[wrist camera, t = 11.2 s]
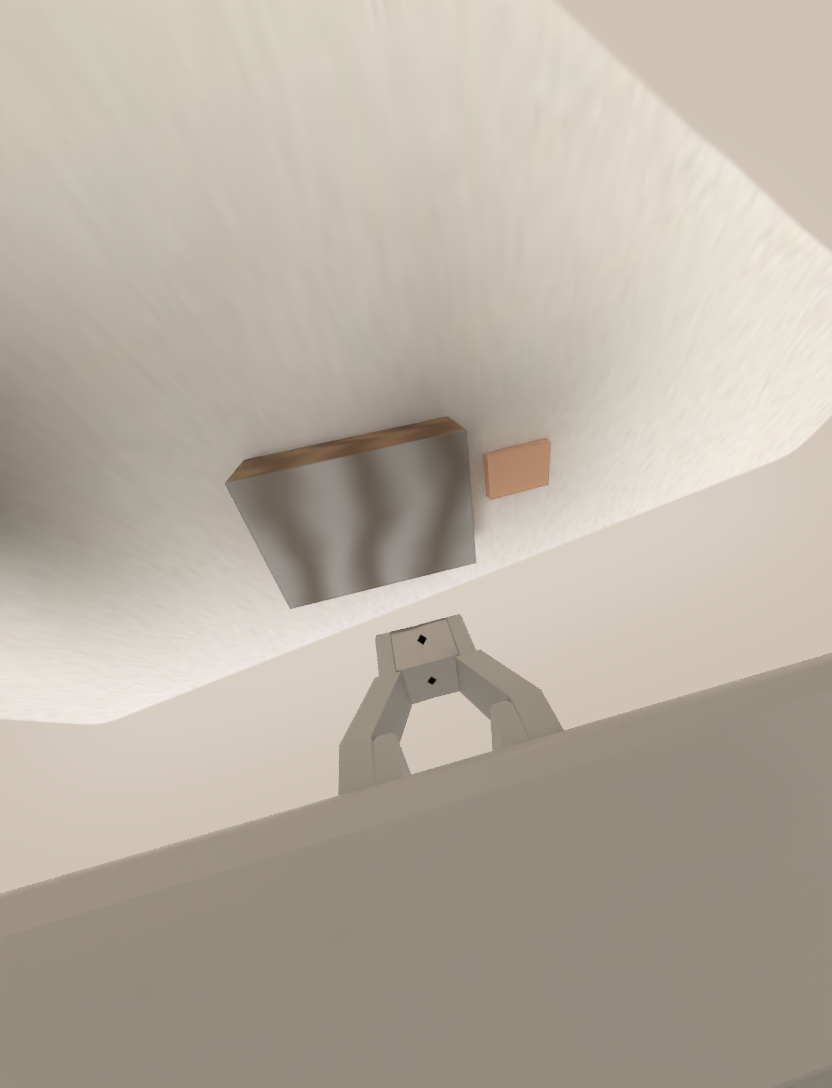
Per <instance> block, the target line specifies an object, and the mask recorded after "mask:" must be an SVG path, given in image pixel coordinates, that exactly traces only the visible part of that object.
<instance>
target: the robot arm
mask: <svg viewBox="0 0 832 1088" xmlns="http://www.w3.org/2000/svg"><path fill="white" fill-rule="evenodd" d="M376 650H377V660H378V669H379V677H376V678H375V679H374V681H373V683H372V684H371V686H370V688H369V690H368V692H367V694H366V696H365V698H364V700H363V702H362V703H361V706H360V707H359V709H358V711H357V713H356V715H355V717H354V719H353V721H352V723H351V724H350V727H349V728H348V730H347V732H346V734H345V736H344V738H343V740H342V741H341V743H340V746H339V796H336V797H333V798H329V799H326V800H322V801H319V802H315V803H312V804H309V805H305V806H302V807H298V808H295V809H292V810H288V811H284V812H281V813H277V814H274V815H271V816H267V817H264V818H260V819H257V820H253V821H250V822H246V823H243V824H240V825H236V826H233V827H229V828H226V829H223V830H219V831H215V832H212V833H208V834H205V835H201V836H198V837H195V838H191V839H188V840H184V841H181V842H177V843H174V844H170V845H167V846H164V847H160V848H157V849H154V850H150V851H146V852H143V853H140V854H136V855H133V856H129V857H126V858H122V859H119V860H115V861H112V862H108V863H105V864H101V865H98V866H94V867H91V868H87V869H84V870H80V871H77V872H73V873H70V874H66V875H63V876H60V877H56V878H53V879H49V880H46V881H43V882H39V883H35V884H32V885H28V886H25V887H22V888H18V889H14V890H11V891H7V892H4V893H0V1088H832V653H830V654H826V655H823V656H820V657H816V658H813V659H809V660H806V661H802V662H799V663H795V664H792V665H789V666H785V667H782V668H778V669H775V670H771V671H768V672H764V673H761V674H758V675H754V676H751V677H747V678H744V679H740V680H737V681H734V682H730V683H726V684H723V685H719V686H716V687H713V688H710V689H706V690H702V691H699V692H695V693H692V694H689V695H685V696H682V697H678V698H675V699H671V700H668V701H665V702H661V703H657V704H654V705H651V706H647V707H644V708H640V709H637V710H633V711H630V712H626V713H623V714H619V715H617V716H613V717H609V718H606V719H602V720H599V721H595V722H592V723H588V724H585V725H582V726H578V727H575V728H571V729H568V730H563V728H562V726H561V725H560V723H559V721H558V719H557V718H556V716H555V714H554V712H553V710H552V709H551V707H550V705H549V703H548V701H547V700H546V698H545V696H544V694H543V693H542V691H541V689H539V688H537V687H536V686H534V685H533V684H531V683H530V682H528V681H527V680H525V679H524V678H522V677H521V676H519V675H518V674H516V673H515V672H513V671H512V670H510V669H508V668H507V667H505V666H504V665H502V664H501V663H500V662H498V661H497V660H495V659H494V658H492V657H491V656H489V655H487V654H486V653H484V652H483V651H482V650H478V651H476V649H475V647H474V645H473V642H472V640H471V638H470V635H469V633H468V631H467V628H466V626H465V623H464V621H463V619H462V617H461V615H460V614H458V615H454V616H450V617H447V618H442V619H439V620H435V621H431V622H428V623H424V624H420V625H418V626H414V627H409V628H405V629H401V630H396V631H392V632H389V633H385V634H380V635H376ZM458 691H460V692H461V693H462V694H463V695H464V696H465V697H466V698H467V699H469V701H471V702H472V703H473V704H474V705H475V706H476V707H477V708H478V709H479V710H480V711H481V712H482V713H483V714H484V715H486V716H487V717H488V718H489V719H490V720H491V731H492V747H493V751H492V752H488V753H485V754H481V755H478V756H474V757H471V758H467V759H464V760H460V761H457V762H453V763H450V764H447V765H443V766H440V767H436V768H433V769H429V770H426V771H422V772H419V773H415V774H413V775H411V773H410V770H409V768H408V765H407V762H406V760H405V757H404V755H403V752H402V749H401V747H400V744H399V743H400V740H401V737H402V734H403V731H404V728H405V725H406V722H407V719H408V716H409V712H410V709H411V707H412V706H411V704H414V703H418V702H420V701H424V700H427V699H430V698H434V697H438V696H442V695H445V694H450V693H454V692H458Z"/></svg>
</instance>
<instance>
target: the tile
mask: <svg viewBox="0 0 832 1088" xmlns="http://www.w3.org/2000/svg"><path fill="white" fill-rule="evenodd" d="M483 456H484V470H485V484H486V496H487V497H488V498H489V499H490V500H491V499H495V498H498V497H502V496H506V495H510V494H514V493H518V492H522V491H525V490H529V489H533V488H537V487H541V486H545V485H548V481H549V459H550V441H549V440H547V439H542V440H538V441H534V442H530V443H526V444H522V445H517V446H513V447H509V448H505V449H501V450H497V451H493V452H489V453H485V454H483Z"/></svg>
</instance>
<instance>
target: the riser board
mask: <svg viewBox="0 0 832 1088" xmlns="http://www.w3.org/2000/svg"><path fill="white" fill-rule="evenodd" d="M225 485H226V487H227V489H228V491H229V493H230V495H231V496H232V498H233V500H234V502H235V504H236V506H237V508H238V510H239V512H240V514H241V516H242V518H243V519H244V521H245V523H246V525H247V527H248V529H249V531H250V533H251V535H252V537H253V539H254V541H255V542H256V544H257V546H258V548H259V550H260V552H261V554H262V556H263V558H264V560H265V562H266V564H267V566H268V567H269V569H270V571H271V573H272V575H273V577H274V579H275V581H276V583H277V585H278V587H279V589H280V590H281V592H282V594H283V596H284V598H285V600H286V602H287V604H288V606H289V608H290V609H292V608H296V607H300V606H304V605H308V604H312V603H316V602H320V601H324V600H328V599H332V598H336V597H340V596H344V595H348V594H352V593H356V592H361V591H365V590H369V589H373V588H377V587H381V586H385V585H389V584H393V583H397V582H401V581H405V580H409V579H413V578H417V577H421V576H425V575H429V574H433V573H437V572H441V571H445V570H449V569H454V568H458V567H462V566H466V565H470V564H474V563H476V556H475V542H474V528H473V514H472V501H471V487H470V473H469V459H468V445H467V432H466V430H465V429H463V428H462V427H461V426H459V425H458V424H457V423H455V422H454V421H452V420H451V419H450V418H448V417H444V418H439V419H435V420H430V421H425V422H421V423H416V424H411V425H407V426H402V427H397V428H393V429H388V430H383V431H379V432H374V433H369V434H365V435H360V436H355V437H351V438H346V439H341V440H337V441H332V442H327V443H323V444H318V445H313V446H308V447H304V448H299V449H294V450H290V451H285V452H280V453H276V454H271V455H266V456H262V457H257V458H252V459H248V460H244V461H243V462H242V463H241V465H240V466H239V467H238V468H237V469H236V471H235V472H234V473H233V474H232V475H231V477H230V478H229V479H228V480H227V482H226V483H225Z"/></svg>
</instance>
